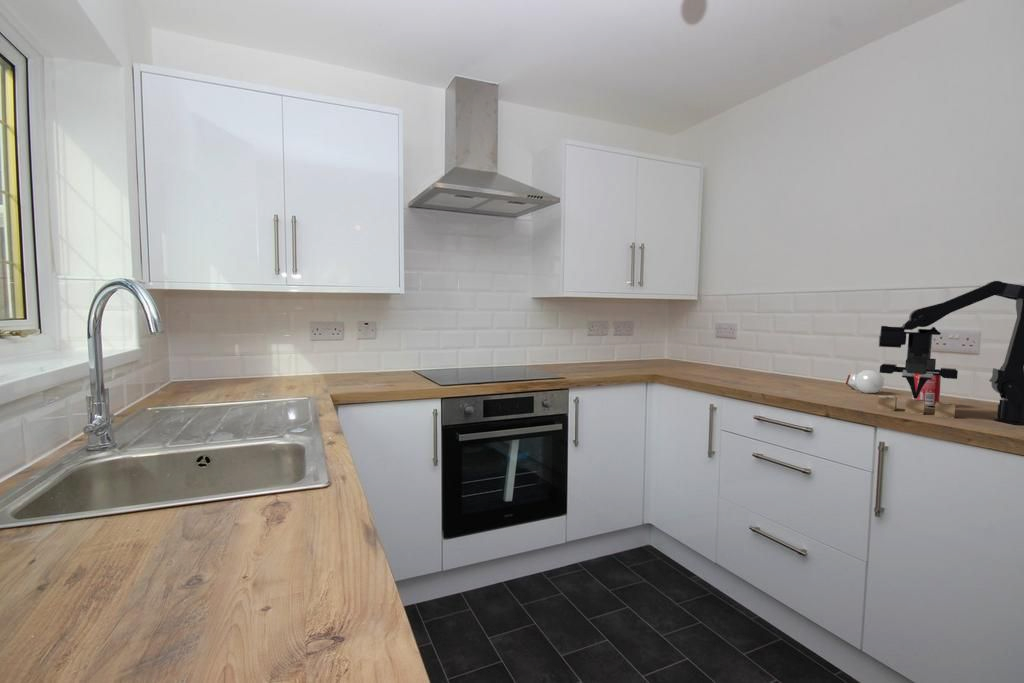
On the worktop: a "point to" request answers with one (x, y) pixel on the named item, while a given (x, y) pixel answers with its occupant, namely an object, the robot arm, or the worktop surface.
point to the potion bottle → (866, 381)
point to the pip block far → (887, 402)
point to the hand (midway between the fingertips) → (915, 398)
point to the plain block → (915, 406)
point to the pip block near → (945, 409)
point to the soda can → (929, 390)
